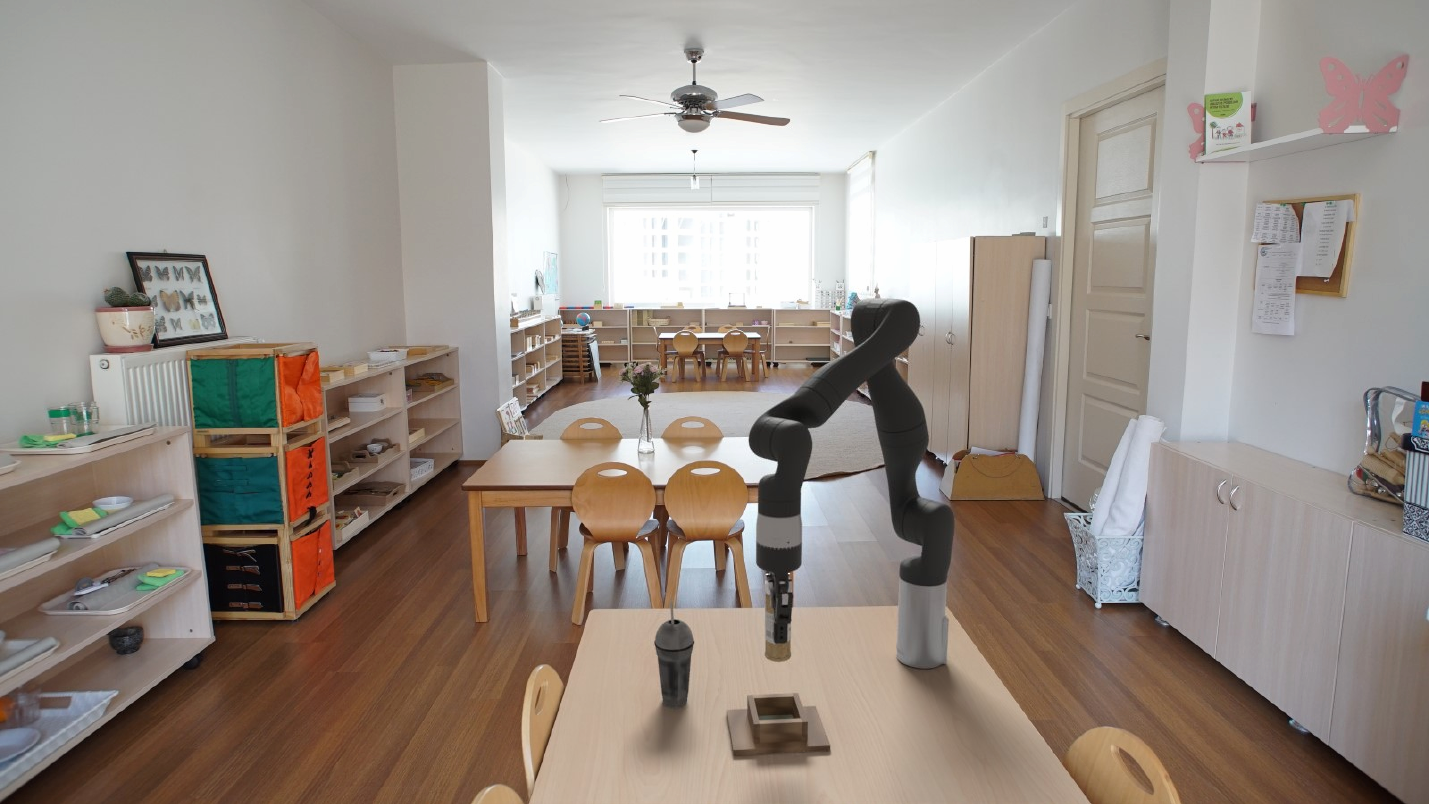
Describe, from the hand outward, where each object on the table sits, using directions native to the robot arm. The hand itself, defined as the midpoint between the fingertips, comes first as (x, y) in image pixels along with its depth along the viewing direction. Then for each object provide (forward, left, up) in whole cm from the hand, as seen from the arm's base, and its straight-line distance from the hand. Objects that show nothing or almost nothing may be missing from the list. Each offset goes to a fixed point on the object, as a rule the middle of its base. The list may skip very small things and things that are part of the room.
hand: (777, 635), depth 135 cm
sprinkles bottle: (0, 0, -4) cm, 4 cm away
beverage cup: (+17, -11, -18) cm, 27 cm away
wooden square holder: (0, 0, -18) cm, 18 cm away
